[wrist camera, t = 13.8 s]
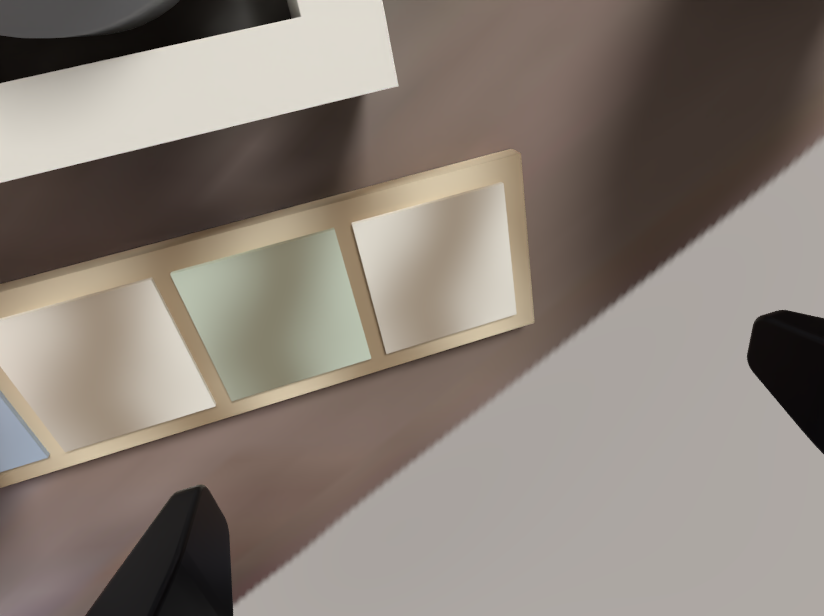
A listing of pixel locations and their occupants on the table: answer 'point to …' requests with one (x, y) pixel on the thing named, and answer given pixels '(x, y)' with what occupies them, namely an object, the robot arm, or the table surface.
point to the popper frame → (195, 86)
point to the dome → (76, 16)
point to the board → (258, 312)
